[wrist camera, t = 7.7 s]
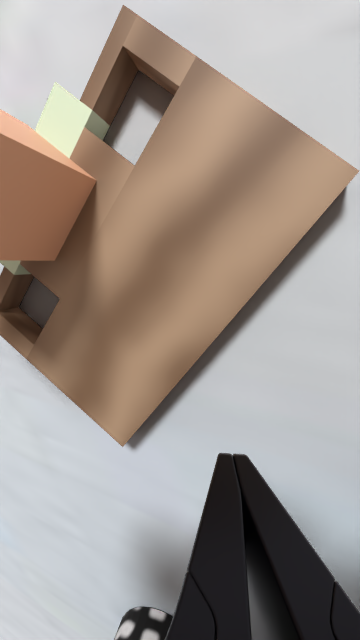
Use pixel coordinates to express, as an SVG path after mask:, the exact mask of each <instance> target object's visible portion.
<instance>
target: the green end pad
mask: <svg viewBox="0 0 360 640" xmlns="http://www.w3.org/2000/svg"><path fill="white" fill-rule="evenodd" d="M84 127H85V128H86V129H88V130H89V131H90V132H92V133H93V134H94V135H96V136H97V137H98V138H100V139H101V140H102V141H103V139H104V137H105V135H106V133H107V131H108V129H109V127H110V125H108V124H107V123H106V122H105V121H104V120H103V119H102V118H101V117H99V116H98V115H97V114H96V113H95V112H94V111H93V110H91V109H90V108H89V107H87V106H86V105H85V104H84V103H82V102H81V101H80V100H78V99H77V98H76V97H74V96H73V95H72V94H70V93H69V92H68V91H67V90H65V89H64V88H63V87H61V86H60V85H59V84H57V83H56V82H55V83H54V86H53V88H52V91H51V93H50V95H49V98H48V100H47V103H46V105H45V107H44V110H43V112H42V115H41V117H40V119H39V122H38V124H37V127H36V129H35V132H37V133H38V134H39V135H40V136H42V137H43V138H44V139H45V140H47V141H48V142H49V143H50V144H52V145H53V146H54V147H55V148H57V149H58V150H59V151H60V152H62V153H63V154H64V155H65V156H67V157H68V158H70V156H71V154H72V152H73V150H74V148H75V146H76V143H77V141H78V139H79V137H80V135H81V133H82V131H83V129H84ZM20 261H21V260H0V263H1V264H2V265H3V266H5V267H6V268H7V269H8V270H9V271H10V272H11V273H13V274H14V275H22V274H31V273H30V272H28V271H27V270H26V269H25V268H24V267H23V266H22V265H20Z"/></svg>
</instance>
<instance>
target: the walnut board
mask: <svg viewBox="0 0 360 640" xmlns="http://www.w3.org/2000/svg"><path fill="white" fill-rule="evenodd" d="M138 70H139V71H141V72H142V73H144V74H145V75H146V76H148V77H149V78H150V79H152V80H153V81H155V82H156V83H157V84H159V85H160V86H161V87H163V88H164V89H166V90H167V91H168V92H170V93H171V94H172V95H174V97H173V99H172V101H171V102H170V104H169V106H168V108H167V110H166V111H165V113H164V115H163V117H162V118H161V120H160V122H159V124H158V125H157V127H156V129H155V131H154V133H153V134H152V136H151V138H150V140H149V141H148V143H147V145H146V147H145V149H144V150H143V152H142V154H141V156H140V157H139V159H138V161H137V163H136V165H135V166H134V165H133V164H132V163H131V162H129V161H128V160H127V159H125V158H124V157H123V156H122V155H120V154H119V153H118V152H116V151H115V150H114V149H113V148H111V147H110V146H109V145H107V144H106V143H105V142H104V141H102V140H101V139H100V138H98V137H97V136H96V135H94V134H93V133H92V132H90V131H89V130H88V129H86V128H85V127H84V129H83V131H82V133H81V135H80V137H79V139H78V141H77V143H76V146H75V148H74V150H73V152H72V154H71V156H70V158H69V159H70V160H72V161H73V162H74V163H75V164H77V165H78V166H79V167H80V168H82V169H83V170H84V171H85V172H87V173H88V174H89V175H90V176H92V177H93V178H94V179H95V180H97V181H96V183H95V185H94V187H93V189H92V191H91V192H90V194H89V196H88V198H87V200H86V202H85V204H84V206H83V208H82V210H81V212H80V213H79V215H78V217H77V219H76V221H75V223H74V225H73V227H72V229H71V231H70V232H69V234H68V236H67V238H66V240H65V242H64V244H63V246H62V248H61V250H60V252H59V253H58V255H57V257H56V259H55V261H20V265H22V266H23V267H24V268H25V269H26V270H27V271H28V272H30V273H31V274H22V275H14V274H13V273H11V272H10V271H9V270H8V269H7V268H6V267H5V266H4V268H3V271H2V273H1V275H0V335H1V336H2V337H3V338H4V339H5V340H6V341H7V342H8V343H9V344H11V345H12V346H13V347H14V348H15V349H16V350H17V351H18V352H19V353H20V354H21V355H23V356H24V357H25V358H26V359H27V360H28V361H29V362H30V363H31V364H32V365H34V366H35V367H36V368H37V369H38V370H39V371H40V372H41V373H42V374H43V375H44V376H46V377H47V378H48V379H49V380H50V381H51V382H52V383H53V384H54V385H55V386H57V387H58V388H59V389H60V390H61V391H62V392H63V393H64V394H65V395H66V396H67V397H69V398H70V399H71V400H72V401H73V402H74V403H75V404H76V405H77V406H78V407H79V408H81V409H82V410H83V411H84V412H85V413H86V414H87V415H88V416H89V417H90V418H92V419H93V420H94V421H95V422H96V423H97V424H98V425H99V426H100V427H101V428H102V429H104V430H105V431H106V432H107V433H108V434H109V435H110V436H111V437H112V438H113V439H114V440H116V441H117V442H118V443H119V444H120V445H121V446H122V447H123V446H124V445H125V444H126V442H127V441H128V440H129V439H130V438H131V437H132V435H133V434H134V433H135V432H136V431H137V430H138V428H139V427H140V426H141V425H142V424H143V423H144V421H145V420H146V419H147V418H148V417H149V416H150V414H151V413H152V412H153V411H154V410H155V409H156V407H157V406H158V405H159V404H160V403H161V402H162V400H163V399H164V398H165V397H166V396H167V395H168V393H169V392H170V391H171V390H172V389H173V388H174V386H175V385H176V384H177V383H178V382H179V381H180V379H181V378H182V377H183V376H184V375H185V374H186V372H187V371H188V370H189V369H190V368H191V367H192V366H193V364H194V363H195V362H196V361H197V360H198V359H199V357H200V356H201V355H202V354H203V353H204V352H205V350H206V349H207V348H208V347H209V346H210V345H211V343H212V342H213V341H214V340H215V339H216V338H217V336H218V335H219V334H220V333H221V332H222V331H223V329H224V328H225V327H226V326H227V325H228V324H229V322H230V321H231V320H232V319H233V318H234V317H235V315H236V314H237V313H238V312H239V311H240V310H241V308H242V307H243V306H244V305H245V304H246V303H247V301H248V300H249V299H250V298H251V297H252V296H253V294H254V293H255V292H256V291H257V290H258V289H259V287H260V286H261V285H262V284H263V283H264V282H265V280H266V279H267V278H268V277H269V276H270V275H271V273H272V272H273V271H274V270H275V269H276V268H277V266H278V265H279V264H280V263H281V262H282V261H283V259H284V258H285V257H286V256H287V255H288V254H289V252H290V251H291V250H292V249H293V248H294V247H295V245H296V244H297V243H298V242H299V241H300V240H301V238H302V237H303V236H304V235H305V234H306V233H307V231H308V230H309V229H310V228H311V227H312V226H313V224H314V223H315V222H316V221H317V220H318V219H319V217H320V216H321V215H322V214H323V213H324V212H325V210H326V209H327V208H328V207H329V206H330V205H331V203H332V202H333V201H334V200H335V199H336V198H337V196H338V195H339V194H340V193H341V192H342V191H343V189H344V188H345V187H346V186H347V185H348V184H349V182H350V181H351V180H352V179H353V178H354V177H355V175H356V174H357V173H358V172H359V170H357V169H356V168H354V167H353V166H352V165H350V164H349V163H347V162H346V161H344V160H343V159H342V158H340V157H339V156H337V155H336V154H334V153H333V152H332V151H330V150H329V149H327V148H326V147H325V146H323V145H322V144H320V143H319V142H317V141H316V140H315V139H313V138H312V137H310V136H309V135H307V134H306V133H305V132H303V131H302V130H300V129H299V128H298V127H296V126H295V125H293V124H292V123H290V122H289V121H288V120H286V119H285V118H283V117H282V116H280V115H279V114H278V113H276V112H275V111H273V110H272V109H271V108H269V107H268V106H266V105H265V104H263V103H262V102H261V101H259V100H258V99H256V98H255V97H254V96H252V95H251V94H249V93H248V92H246V91H245V90H244V89H242V88H241V87H239V86H238V85H236V84H235V83H234V82H232V81H231V80H229V79H228V78H227V77H225V76H224V75H222V74H221V73H219V72H218V71H217V70H215V69H214V68H212V67H211V66H209V65H208V64H207V63H205V62H204V61H202V60H201V59H200V58H198V57H197V56H195V55H194V54H192V53H191V52H190V51H188V50H187V49H185V48H184V47H182V46H181V45H180V44H178V43H177V42H175V41H174V40H173V39H171V38H170V37H168V36H167V35H165V34H164V33H163V32H161V31H160V30H158V29H157V28H156V27H154V26H153V25H151V24H150V23H148V22H147V21H146V20H144V19H143V18H141V17H140V16H138V15H137V14H136V13H134V12H133V11H131V10H130V9H129V8H127V7H126V6H124V5H123V6H122V9H121V11H120V13H119V15H118V17H117V20H116V22H115V24H114V26H113V28H112V31H111V33H110V35H109V37H108V39H107V42H106V44H105V46H104V48H103V50H102V53H101V55H100V57H99V59H98V61H97V64H96V66H95V68H94V70H93V72H92V75H91V77H90V79H89V81H88V83H87V86H86V88H85V90H84V92H83V94H82V97H81V99H80V101H81V102H82V103H84V104H85V105H86V106H87V107H89V108H90V109H91V110H93V111H94V112H95V113H96V114H97V115H98V116H99V117H101V118H102V119H103V120H104V121H105V122H106V123H107V124H108V125H111V123H112V121H113V119H114V117H115V115H116V113H117V111H118V109H119V107H120V105H121V103H122V102H123V100H124V98H125V96H126V94H127V92H128V90H129V88H130V86H131V84H132V82H133V80H134V78H135V76H136V74H137V72H138ZM34 277H35V278H37V279H38V280H39V281H40V282H41V283H42V284H43V285H45V286H46V287H47V288H48V289H49V290H50V291H51V292H53V293H54V294H55V295H56V296H57V297H58V298H60V300H59V301H58V303H57V305H56V307H55V308H54V310H53V312H52V314H51V316H50V317H49V319H48V321H47V323H46V324H45V326H44V328H43V329H42V328H41V327H40V326H39V325H38V324H37V323H36V322H34V321H33V320H32V319H31V318H30V317H29V316H28V315H27V314H25V313H24V312H23V311H22V310H21V309H20V308H19V305H20V303H21V301H22V299H23V297H24V295H25V294H26V292H27V290H28V288H29V286H30V284H31V282H32V280H33V278H34Z"/></svg>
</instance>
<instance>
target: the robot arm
mask: <svg viewBox="0 0 360 640" xmlns="http://www.w3.org/2000/svg"><path fill="white" fill-rule="evenodd" d="M334 580H335V579H334V577H333V575H332V574H331V573H330V571H329V570H328V568H327V567H326V566H325V564H324V563H323V561H322V560H321V559H320V557H319V556H318V554H317V553H316V552H315V550H314V549H313V547H312V546H311V545H310V543H309V542H308V540H307V539H306V538H305V536H304V535H303V533H302V532H301V531H300V529H299V528H298V526H297V525H296V524H295V522H294V521H293V519H292V518H291V517H290V515H289V514H288V512H287V511H286V510H285V508H284V507H283V505H282V504H281V503H280V501H279V500H278V498H277V497H276V496H275V494H274V493H273V491H272V490H271V489H270V487H269V486H268V484H267V483H266V482H265V480H264V479H263V477H262V476H261V475H260V473H259V472H258V470H257V469H256V468H255V466H254V465H253V463H252V462H251V461H250V459H249V458H248V456H247V455H245V454H233V455H232V454H229V453H219V454H218V457H217V461H216V465H215V468H214V472H213V476H212V480H211V483H210V487H209V491H208V494H207V498H206V502H205V505H204V509H203V513H202V516H201V520H200V524H199V527H198V531H197V535H196V539H195V542H194V546H193V550H192V553H191V557H190V561H189V564H188V568H187V573H186V575H185V578H184V582H183V586H182V589H181V593H180V596H179V600H178V603H177V606H176V609H175V613H174V616H173V619H172V622H171V625H170V628H169V630H168V633H167V636H166V639H165V640H360V613H359V611H358V610H357V609H356V607H355V606H354V604H353V603H352V602H351V600H350V599H349V598H348V596H347V595H346V593H345V592H344V591H343V589H342V588H341V586H340V585H339V583H338V582H336V581H335V582H334Z"/></svg>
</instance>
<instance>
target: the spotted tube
mask: <svg viewBox="0 0 360 640" xmlns="http://www.w3.org/2000/svg"><path fill="white" fill-rule="evenodd" d="M172 619H173V617H172V616H170V615H168V614H167V613H164V612H162V611H160V610H157V609H153V608H147V607H138V608H134V609H131V610H129V611H128V612H127V613H125V615H124V616H123V618H122V621H121V623H120V626H119V628H118V631H117V633H116V636H115V638H114V640H165V639H166V636H167V633H168V630H169V628H170V625H171V622H172Z"/></svg>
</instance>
